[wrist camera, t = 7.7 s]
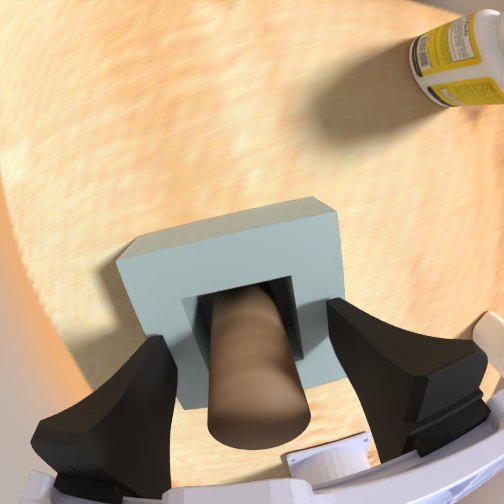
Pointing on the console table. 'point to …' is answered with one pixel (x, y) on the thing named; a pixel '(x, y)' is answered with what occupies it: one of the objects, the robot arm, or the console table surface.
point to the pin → (252, 372)
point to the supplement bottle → (462, 60)
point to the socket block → (239, 284)
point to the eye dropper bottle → (491, 339)
